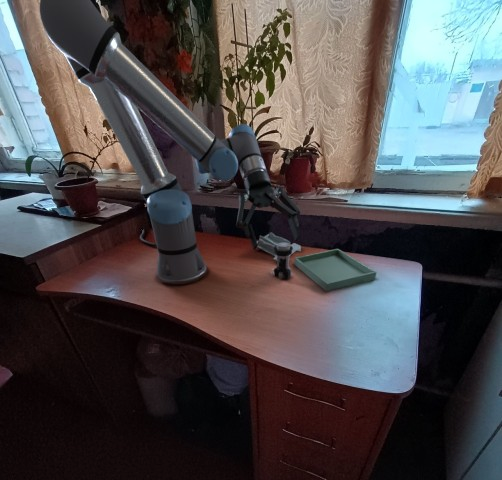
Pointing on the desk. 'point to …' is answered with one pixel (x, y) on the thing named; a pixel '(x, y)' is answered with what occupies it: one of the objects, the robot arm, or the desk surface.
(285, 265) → the push button
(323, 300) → the desk surface
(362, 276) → the tray
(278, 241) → the metal bracket
